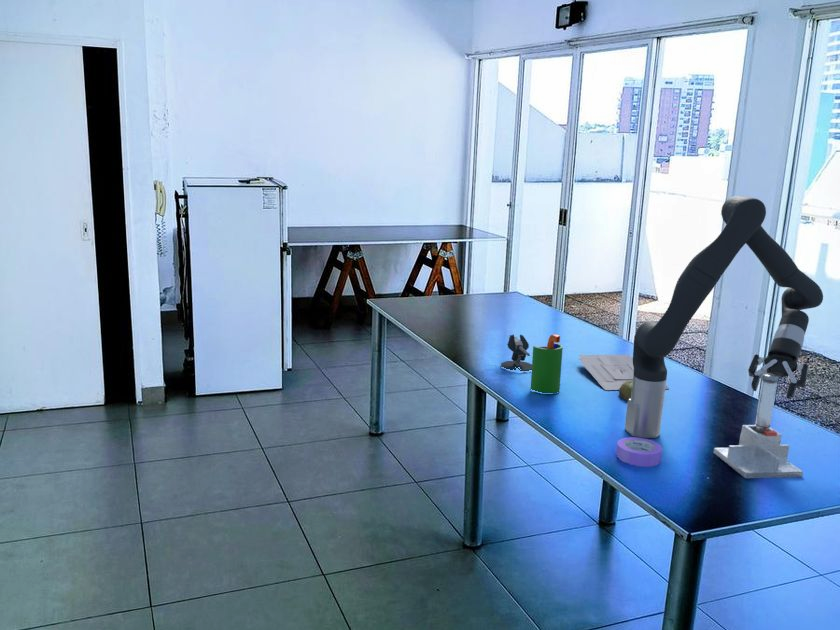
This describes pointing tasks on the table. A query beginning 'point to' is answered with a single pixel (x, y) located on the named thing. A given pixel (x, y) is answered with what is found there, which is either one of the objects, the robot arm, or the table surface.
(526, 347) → the gun turret
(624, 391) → the weight
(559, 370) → the green pen holder
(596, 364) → the papers
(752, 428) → the jack base
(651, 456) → the masking tape
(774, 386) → the cylinder
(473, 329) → the table surface
